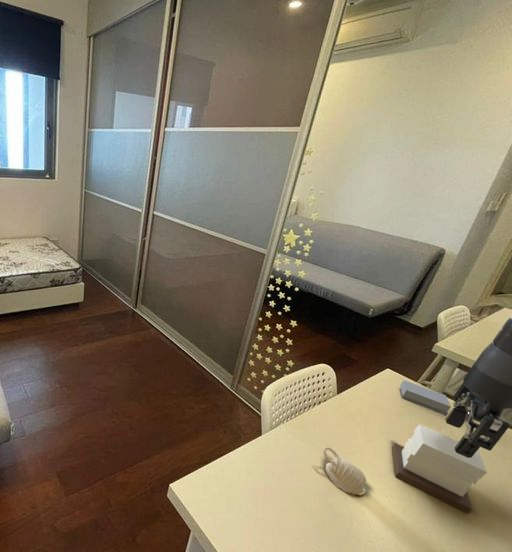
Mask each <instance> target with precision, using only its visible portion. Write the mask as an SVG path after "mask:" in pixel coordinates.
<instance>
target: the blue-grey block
mask: <svg viewBox="0 0 512 552" xmlns="http://www.w3.org/2000/svg"><path fill="white" fill-rule="evenodd" d="M399 387H400V395H401V399H404V400H406V401H408V402H410V403H413V404H415V405H418V406H421V407H423V408H425V409H428V410H431V411H433V412H435V413H438V414H440V415H443V416H446V417H447V416H448V415H449V412H448V411H449V410H450V409H451V408H452V406H451V403H450V401H449V399H448V397H447V395H446V394H443V393H441V392H438V391H435V390H432V389H429V388H427V387H424V386H421V385H419V384H416V383H413V382H410V381H407V380H405V379H402V381H401V383H400V385H399Z"/></svg>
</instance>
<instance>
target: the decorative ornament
mask: <svg viewBox="0 0 512 552" xmlns="http://www.w3.org/2000/svg"><path fill="white" fill-rule="evenodd" d="M327 450H328V451H329V452H331V453H332V454H333V456H334V458H332V459H331V458H330V456H329V455H328V454H327ZM322 453H323V456H324V457H325V459H326V460H327V461H328V462H327V463H326V464H325V472H326V474H327V476H328V477H329V479H330V481H332V483H333V484H334V485H335V486H336V487H338V488H339V489H341V490H342V491H343V492H344V493H349V494H352V495H358V496H362V495H364V494H365V493H366V488H365V485H366V482H367V479H366V475H365V474H364V472H363V471H362V470H361V469H360V468H359V467H357V465H355V464H354V463H352V462H350V461H349V460H347V459H345V458H343V457H339V455H338V453H337V452H336V451H335V450H334V449H333V448H331V447H329V446H324V447H323V449H322Z"/></svg>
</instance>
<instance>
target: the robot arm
mask: <svg viewBox="0 0 512 552" xmlns="http://www.w3.org/2000/svg"><path fill="white" fill-rule="evenodd" d="M462 381H463V382H462V383H461V385H460V386H459V388H458V389H457V390H456V391H455V393H454V394H453V396H452V399H453V400H454V402H453V403H452V406H453V408H452V409H451V411H450V412H449V413H448V414H447V415H446V417H445V423H446V424H447V425H450V426H452V427H454V428H457V429H460V428H461V427H462V426H463V425H464V424H465V425H466V429H465V432H464V434H463V435H462V437H461V438H460V439H459V440H458V441H459V442H458V444H457V445H456V446H455V448H454V449H455V452H456V453H458V454H461V455H463V456H465V457H467V458H471V457H472V456H473V455H474V454H475V453H476V451H477V450H478V451H479V449H480V448H482V449H484V450H487V451H492V450H493V448H495V446H496V445H497V444H498V442H499V441H500V440H501V438H502V437H503V436H504V434H505V433H506V432H507V430H509V427H510V424H509V423H508V422H506V421H504V420H501V419H502V418H503V412H504V410H506V409H507V410H508V409H511V410H512V316H510V317H509V318H508V319H507V320H506V321H505V322H504V324H503V325H502V326H501V329H500V330H499V331H498V333H497V334H496V335H495V336H494V338H493V339H492V341H491V342H490V343H489V344H488V345H487V346H486V347H485V348H484V349H483V350H482V352H481V353H480V354H479V356H478V357H477V359H476V360H475V361H474V363H473V364H472V366H471V367H470V368H469V370H468V372H466V374H465V376H464V377H463V379H462ZM474 421H475V422H474ZM477 422H478V423H479V424H478V423H477Z"/></svg>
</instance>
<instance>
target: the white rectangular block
mask: <svg viewBox="0 0 512 552" xmlns="http://www.w3.org/2000/svg"><path fill="white" fill-rule="evenodd" d="M413 433H414V434H415V437H416V442H417V447H418V450H419V451H421V452H423V453H425V454H428V455H430V456H432V457H434V458H436V459H438V460H441V461H443V462H445V463H447V464H449V465H451V466H454V467H456V468H458V469H460V470H462V471H464V472H467V473H469V474H471V475H473V476H475V477H477V478H480V479H479V480H481V479H482V478H483V477H484V476H485V475H486V474H487V472H488V471H487V468H486V465H485V463H484V461H483V459H482V455H481V454H480V451H479V449H478V450H477V451H476V453H475V454H474V455H473V456H472V457H471V458H467V457H465V456H463V455H461V454H458V453H456V452H455V449H454V448H455V446H456V445H457V444H458V442H459V441H460V440H457V439H454V438H452V437H450V436H447V435H445V434H443V433H440V432H438V431H436V430H434V429H431V428H429V427H426V426H424V425H422V424H417V426H416V428H414V430H413Z"/></svg>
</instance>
